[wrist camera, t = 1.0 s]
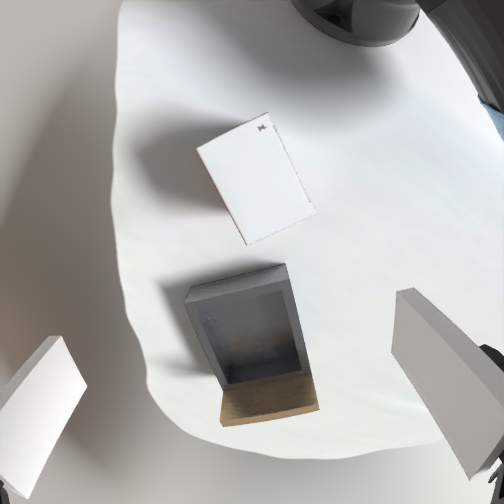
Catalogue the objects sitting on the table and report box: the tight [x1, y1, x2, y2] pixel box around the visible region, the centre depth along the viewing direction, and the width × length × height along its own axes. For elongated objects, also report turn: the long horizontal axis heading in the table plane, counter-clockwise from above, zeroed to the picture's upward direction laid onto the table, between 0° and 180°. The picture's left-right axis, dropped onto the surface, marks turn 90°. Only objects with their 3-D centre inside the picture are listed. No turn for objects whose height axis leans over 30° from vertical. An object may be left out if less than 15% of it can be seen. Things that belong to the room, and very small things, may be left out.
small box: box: [196, 112, 316, 245], centre depth 24 cm, size 8×6×10 cm
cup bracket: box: [184, 264, 319, 427], centre depth 31 cm, size 11×14×9 cm
